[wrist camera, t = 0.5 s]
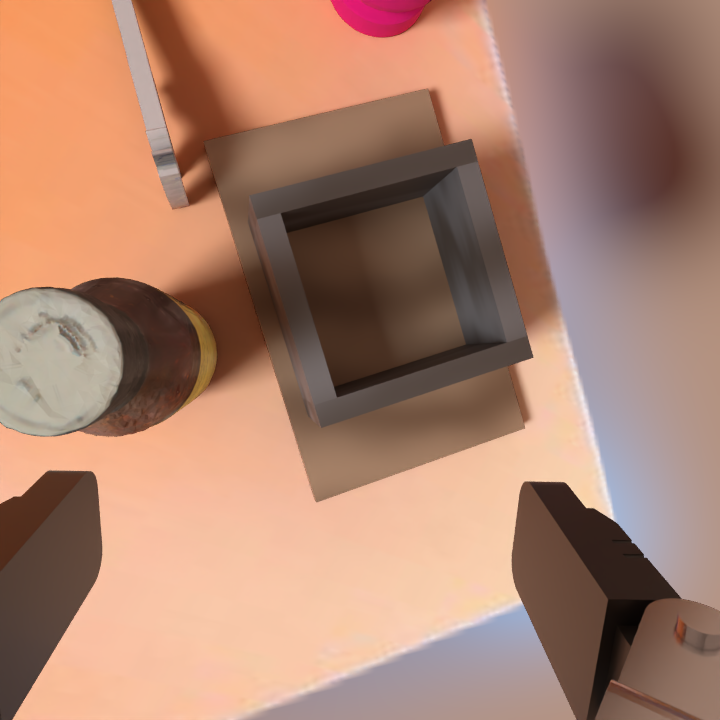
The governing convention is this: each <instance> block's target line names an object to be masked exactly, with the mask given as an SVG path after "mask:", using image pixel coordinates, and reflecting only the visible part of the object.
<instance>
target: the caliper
mask: <svg viewBox="0 0 720 720" xmlns="http://www.w3.org/2000/svg"><path fill="white" fill-rule="evenodd" d="M112 3H113V7H114V10H115V14H116V18H117V21H118V25H119V29H120V33H121V36H122V40H123V44H124V47H125V51H126V55H127V60H128V64H129V67H130V71H131V75H132V78H133V82H134V86H135V89H136V93H137V97H138V100H139V104H140V108H141V111H142V115H143V119H144V123H145V126H146V134H147V137H148V140H149V143H150V146H151V149H152V156H153V158H154V161H155V164H156V166H157V170H158V174H159V177H160V180H161V183H162V185H163V188H164V191H165V193H166V196H167V199H168V201H169V203H170V205H171V207H172V209H177V208H181V207H186V206H189V202H188V198H187V195H186V192H185V189H184V186H183V182H182V179H181V178H182V177H181V173H180V170H179V166H178V163H177V160H176V156H175V153H174V150H173V146H172V143H171V140H170V136H169V133H168V129H167V126H166V122H165V118H164V114H163V111H162V107H161V104H160V100H159V96H158V93H157V89H156V86H155V82H154V79H153V76H152V72H151V68H150V65H149V61H148V58H147V54H146V50H145V47H144V43H143V39H142V36H141V32H140V29H139V25H138V21H137V18H136V14H135V11H134V7H133V3H132V0H112Z"/></svg>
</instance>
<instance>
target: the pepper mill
mask: <svg viewBox="0 0 720 720" xmlns="http://www.w3.org/2000/svg"><path fill="white" fill-rule="evenodd" d="M430 1H431V0H331V2H332V4H333V6H334V8H335V10H336V11H337V13H338V14H339V16H340V17H341V18H342V19H343V20H344V21H345V22H346V23H347V24H348V25H349V26H351V27H352V28H353V29H355V30H356V31H359V32H361V33H363V34H366V35H369V36H374V37H390V36H394V35H397V34H400V33H402V32H404V31H406V30H407V29H408V28H410V27H411V26H412V25H413V24H414V23H415V22H416V20H417V19H418V17H419V16H420V14H421V12H422V10H423V8H424V6H425V5H426V4H427V3H429V2H430Z"/></svg>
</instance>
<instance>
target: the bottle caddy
mask: <svg viewBox="0 0 720 720" xmlns="http://www.w3.org/2000/svg"><path fill="white" fill-rule="evenodd" d="M204 146H205V150H206V153H207V156H208V159H209V163H210V166H211V169H212V172H213V175H214V179H215V182H216V185H217V188H218V191H219V195H220V198H221V201H222V204H223V208H224V211H225V214H226V217H227V220H228V224H229V227H230V230H231V233H232V236H233V240H234V243H235V246H236V249H237V252H238V256H239V259H240V262H241V265H242V268H243V272H244V275H245V278H246V281H247V284H248V288H249V291H250V294H251V297H252V300H253V304H254V307H255V310H256V313H257V316H258V320H259V323H260V326H261V329H262V332H263V336H264V339H265V342H266V345H267V349H268V352H269V355H270V358H271V361H272V365H273V368H274V371H275V374H276V377H277V381H278V384H279V387H280V390H281V393H282V397H283V400H284V403H285V406H286V409H287V413H288V416H289V419H290V422H291V425H292V429H293V432H294V435H295V438H296V441H297V445H298V448H299V451H300V454H301V457H302V461H303V464H304V467H305V470H306V473H307V477H308V480H309V483H310V486H311V490H312V493H313V496H314V499H315V501H316V502H319V501H322V500H324V499H327V498H330V497H333V496H336V495H338V494H341V493H344V492H347V491H350V490H353V489H355V488H358V487H361V486H364V485H367V484H369V483H372V482H375V481H378V480H381V479H383V478H386V477H389V476H392V475H395V474H398V473H400V472H403V471H406V470H409V469H412V468H414V467H417V466H420V465H423V464H426V463H429V462H431V461H434V460H437V459H440V458H443V457H445V456H448V455H451V454H454V453H457V452H459V451H462V450H465V449H468V448H471V447H474V446H476V445H479V444H482V443H485V442H488V441H490V440H493V439H496V438H499V437H502V436H505V435H507V434H510V433H513V432H516V431H519V430H521V429H524V428H525V425H524V422H523V418H522V415H521V411H520V408H519V404H518V401H517V397H516V394H515V390H514V387H513V383H512V380H511V377H510V373H509V370H508V366H509V365H512V364H515V363H518V362H521V361H525V360H528V359H531V358H533V354H532V351H531V347H530V344H529V340H528V336H527V333H526V329H525V326H524V322H523V319H522V315H521V312H520V308H519V305H518V301H517V298H516V294H515V291H514V287H513V284H512V280H511V277H510V273H509V269H508V266H507V262H506V259H505V255H504V252H503V248H502V245H501V241H500V238H499V234H498V231H497V227H496V224H495V220H494V217H493V213H492V210H491V206H490V202H489V199H488V195H487V192H486V188H485V185H484V181H483V178H482V174H481V171H480V167H479V164H478V160H477V157H476V153H475V150H474V146H473V143H472V139H469V140H465V141H461V142H457V143H453V144H449V145H445V146H444V143H443V139H442V136H441V132H440V129H439V125H438V122H437V118H436V115H435V111H434V108H433V104H432V101H431V97H430V94H429V90H428V89H424V90H419V91H415V92H411V93H407V94H402V95H398V96H394V97H390V98H385V99H381V100H377V101H373V102H368V103H364V104H360V105H355V106H351V107H347V108H343V109H338V110H334V111H330V112H326V113H321V114H317V115H313V116H309V117H304V118H300V119H296V120H292V121H287V122H283V123H279V124H274V125H270V126H266V127H262V128H257V129H253V130H249V131H245V132H240V133H236V134H232V135H228V136H223V137H219V138H215V139H211V140H206V141H204Z"/></svg>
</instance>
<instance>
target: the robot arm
mask: <svg viewBox="0 0 720 720" xmlns="http://www.w3.org/2000/svg"><path fill="white" fill-rule="evenodd" d="M631 541H632V540H631V539H630V538H629V537H628V535H627V534H626V533H625V532H624V531H623V530H622V528H621V527H620V526H619V525H618V524H617V523H616V522H614V521H613V520H611V519H610V518H608V517H607V516H605V515H603V514H602V513H600V512H599V511H597V510H596V509H594V508H586V507H585V506H584V505H583V504H582V502H581V501H580V500H579V499H578V497H577V496H576V495H575V494H574V492H573V491H572V490H571V489H570V487H569V486H568V485H567V484H566V483H564V482H524V483H523V485H522V487H521V490H520V495H519V503H518V511H517V519H516V527H515V535H514V542H513V550H512V572H513V579H514V583H515V587H516V589H517V591H518V594H519V596H520V598H521V600H522V602H523V604H524V607H525V609H526V611H527V613H528V615H529V617H530V620H531V622H532V624H533V626H534V628H535V630H536V633H537V635H538V637H539V639H540V641H541V643H542V646H543V648H544V650H545V652H546V654H547V656H548V659H549V661H550V663H551V665H552V667H553V669H554V672H555V674H556V676H557V678H558V680H559V682H560V685H561V687H562V689H563V691H564V693H565V695H566V698H567V700H568V702H569V704H570V706H571V709H572V710H573V713H574V715H575V717H576V719H577V720H720V611H719V610H716V609H714V608H712V607H709V606H707V605H704V604H701V603H698V602H694V601H690V600H685V599H681V598H680V596H679V595H678V594H677V593H676V592H675V590H674V589H673V588H672V587H671V586H670V585H669V583H668V582H667V581H666V580H665V579H664V578H663V576H662V575H661V574H660V573H659V572H658V570H657V569H656V568H655V567H654V566H653V565H652V563H651V562H650V561H649V560H648V559H647V558H644V554H643V553H642V552H641V551H640V549H639V548H638V547H637V546H636V545H635V544H634V543H632V542H631ZM101 560H102V537H101V524H100V511H99V498H98V485H97V480H96V477H95V475H94V473H93V472H91V471H47V472H46V473H45V474H44V475H43V476H42V477H41V478H40V479H39V480H38V481H37V482H36V483H35V484H34V485H33V486H32V487H30V488H29V489H28V490H27V491H26V492H25V493H24V494H23V495H22V496H21V497H13V498H11V499H9V500H7V501H5V502H3V503H1V504H0V720H12V719H13V717H14V716H15V714H16V712H17V711H18V709H19V707H20V706H21V704H22V702H23V701H24V699H25V697H26V696H27V694H28V693H29V691H30V689H31V688H32V686H33V684H34V683H35V681H36V679H37V678H38V676H39V674H40V673H41V671H42V669H43V668H44V666H45V664H46V663H47V661H48V659H49V658H50V656H51V654H52V653H53V651H54V649H55V648H56V646H57V645H58V643H59V641H60V640H61V638H62V636H63V635H64V633H65V631H66V630H67V628H68V626H69V625H70V623H71V621H72V620H73V618H74V616H75V615H76V613H77V611H78V610H79V608H80V606H81V605H82V603H83V601H84V600H85V598H86V597H87V595H88V593H89V592H90V590H91V588H92V587H93V585H94V583H95V581H96V579H97V577H98V574H99V570H100V566H101Z"/></svg>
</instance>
